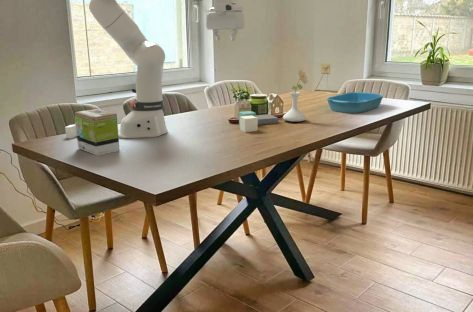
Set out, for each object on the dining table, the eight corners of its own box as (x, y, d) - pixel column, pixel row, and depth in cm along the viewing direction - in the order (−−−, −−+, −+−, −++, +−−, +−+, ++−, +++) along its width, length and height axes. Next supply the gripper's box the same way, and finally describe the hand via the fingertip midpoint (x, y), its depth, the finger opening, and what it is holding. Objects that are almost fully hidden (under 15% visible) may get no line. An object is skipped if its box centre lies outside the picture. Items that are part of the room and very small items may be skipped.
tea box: (77, 149, 187) (73, 111, 183) (100, 144, 194) (97, 108, 190) (96, 156, 177) (93, 116, 173) (120, 151, 184) (117, 112, 180)
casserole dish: (357, 116, 247) (358, 102, 245) (319, 111, 261) (320, 98, 259) (388, 106, 274) (389, 93, 272) (352, 102, 288) (353, 90, 286)
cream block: (245, 132, 213) (244, 118, 211) (239, 129, 218) (239, 116, 217) (257, 131, 215) (257, 117, 213) (252, 128, 220) (252, 115, 219)
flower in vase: (294, 124, 228) (295, 70, 221) (277, 121, 236) (278, 69, 230) (313, 120, 236) (315, 68, 229) (296, 117, 244) (297, 67, 237)
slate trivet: (258, 124, 228) (258, 119, 227) (250, 120, 237) (250, 115, 236) (277, 122, 231) (278, 117, 231) (269, 119, 240) (269, 114, 240)
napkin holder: (87, 131, 219) (85, 119, 218) (97, 136, 211) (96, 123, 209) (53, 136, 210) (52, 124, 209) (63, 141, 202) (61, 128, 200)
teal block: (243, 126, 224) (243, 114, 223) (239, 124, 230) (238, 111, 228) (255, 125, 226) (255, 113, 225) (250, 123, 232) (250, 110, 230)
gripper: (202, 8, 213) (203, 40, 217) (235, 6, 199) (236, 40, 203) (212, 8, 217) (213, 39, 221) (246, 6, 203) (246, 40, 207)
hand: (225, 40), depth 212 cm, fingers open, 8 cm apart
